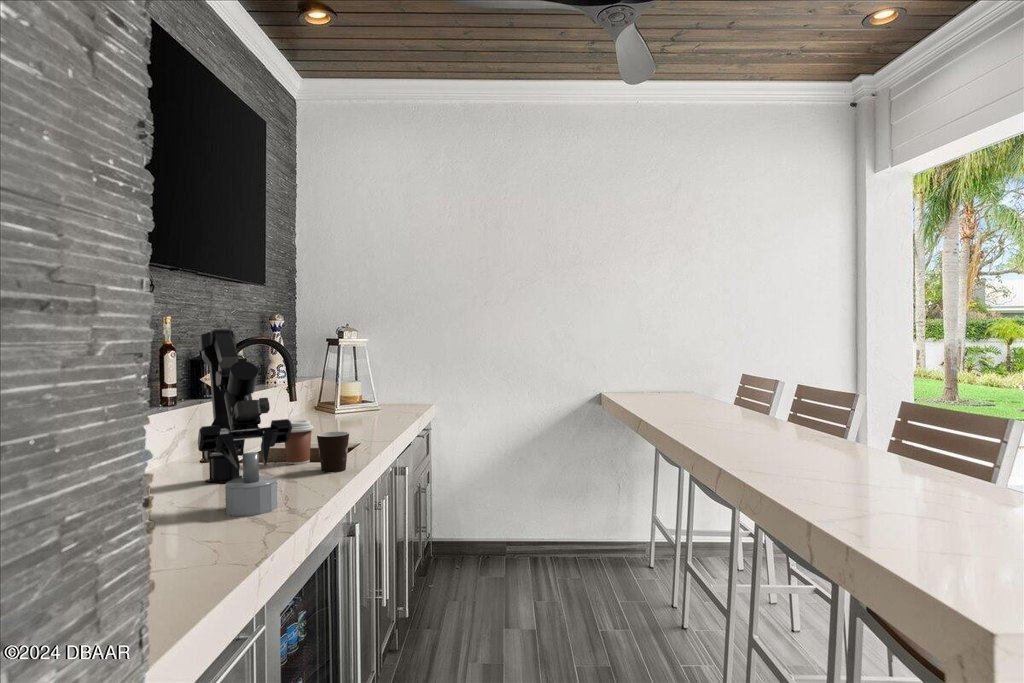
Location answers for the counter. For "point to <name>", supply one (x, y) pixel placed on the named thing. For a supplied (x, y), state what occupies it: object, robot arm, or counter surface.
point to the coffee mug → (333, 450)
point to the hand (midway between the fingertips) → (252, 466)
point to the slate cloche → (251, 490)
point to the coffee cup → (299, 442)
